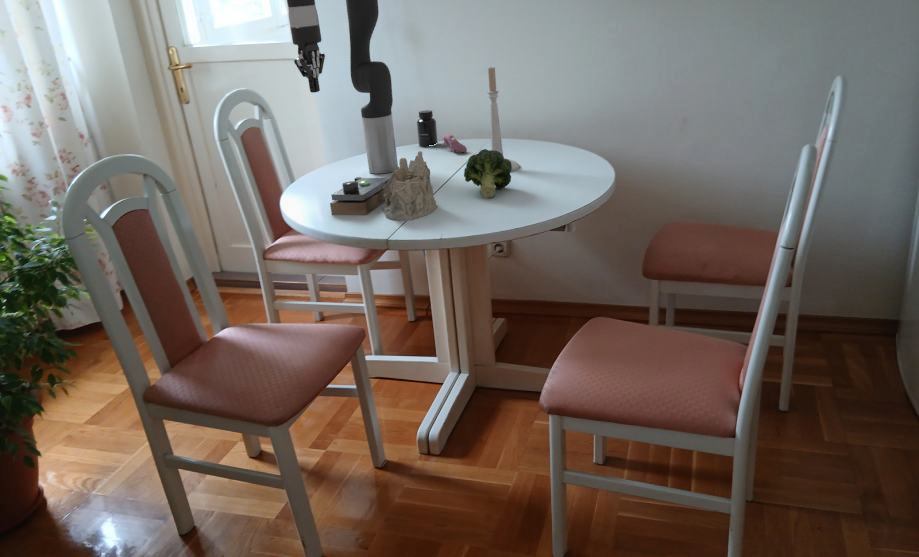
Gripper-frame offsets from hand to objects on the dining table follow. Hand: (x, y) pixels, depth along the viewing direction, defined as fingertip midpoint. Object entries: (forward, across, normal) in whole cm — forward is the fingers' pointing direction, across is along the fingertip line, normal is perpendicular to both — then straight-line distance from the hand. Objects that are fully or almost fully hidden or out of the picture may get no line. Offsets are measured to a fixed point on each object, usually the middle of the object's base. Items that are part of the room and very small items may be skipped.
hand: (315, 91), depth 200 cm
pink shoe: (+29, -53, +19) cm, 64 cm away
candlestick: (+29, -30, +41) cm, 59 cm away
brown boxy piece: (+29, +7, +14) cm, 33 cm away
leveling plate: (+26, +7, +14) cm, 30 cm away
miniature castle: (+29, +12, +28) cm, 42 cm away
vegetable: (+29, -4, +46) cm, 55 cm away
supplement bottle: (+29, -63, +6) cm, 70 cm away
